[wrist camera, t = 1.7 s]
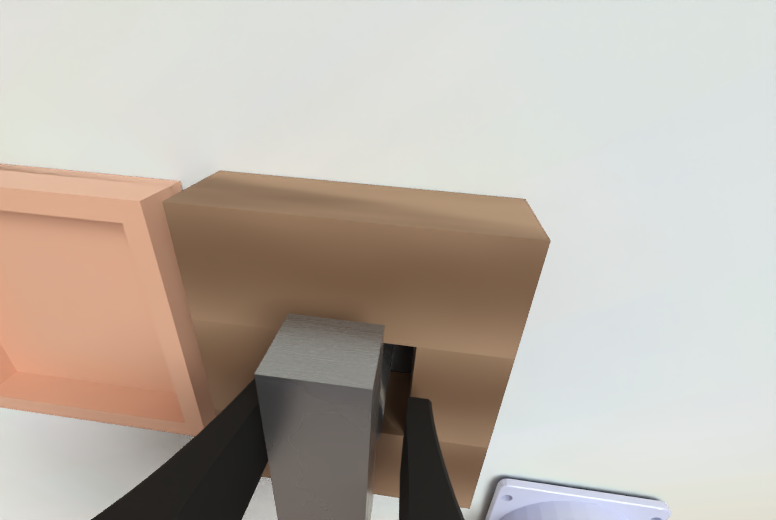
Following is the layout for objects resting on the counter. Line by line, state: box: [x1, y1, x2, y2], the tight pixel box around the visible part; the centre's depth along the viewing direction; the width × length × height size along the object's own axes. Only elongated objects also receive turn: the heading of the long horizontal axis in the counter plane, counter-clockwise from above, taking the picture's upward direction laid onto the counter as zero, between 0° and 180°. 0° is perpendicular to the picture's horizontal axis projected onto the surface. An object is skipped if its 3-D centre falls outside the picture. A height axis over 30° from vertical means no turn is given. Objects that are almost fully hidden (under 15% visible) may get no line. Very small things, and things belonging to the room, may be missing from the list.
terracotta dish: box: [0, 164, 216, 436], centre depth 15 cm, size 11×11×2 cm
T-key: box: [254, 314, 394, 520], centre depth 12 cm, size 8×3×6 cm, turn 177°
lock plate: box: [162, 171, 550, 509], centre depth 14 cm, size 12×10×3 cm
